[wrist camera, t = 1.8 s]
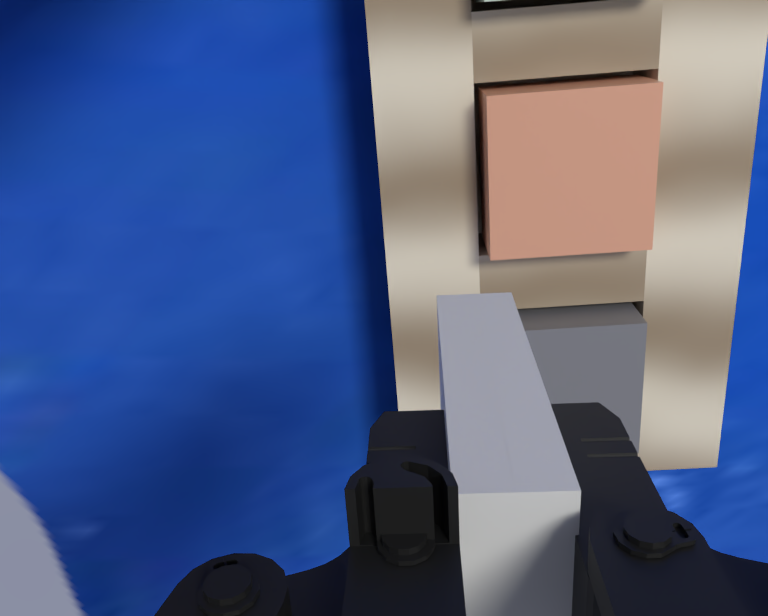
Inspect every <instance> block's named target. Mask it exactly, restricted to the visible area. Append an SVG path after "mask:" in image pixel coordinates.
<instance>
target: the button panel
mask: <svg viewBox="0 0 768 616" xmlns="http://www.w3.org/2000/svg"><path fill="white" fill-rule="evenodd" d="M364 1H365V13H366V25H367V38H368V50H369V62H370V74H371V86H372V98H373V110H374V122H375V134H376V146H377V158H378V170H379V182H380V194H381V207H382V219H383V231H384V243H385V255H386V267H387V279H388V291H389V303H390V315H391V327H392V339H393V351H394V363H395V376H396V388H397V400H398V411H416V410H441V404H440V376H439V348H438V320H437V295H459V294H483V293H506V292H511V293H512V296H513V299H514V301H515V304H516V307H517V309H525V308H541V307H557V306H572V305H588V304H604V303H619V302H632V304H633V305H634V306H635V308H636V309H637V310H638V312H639V313H640V314H641V315H642V317H643V318H644V319H645V321H646V322H647V337H646V352H645V367H644V382H643V397H642V412H641V427H640V442H639V453H638V457H640V458H641V460H642V462H643V464H644V466H645V468H646V470H647V471H649V470H669V469H688V468H707V467H717V462H718V453H719V445H720V436H721V428H722V419H723V411H724V402H725V393H726V385H727V376H728V368H729V359H730V351H731V342H732V334H733V325H734V317H735V308H736V300H737V291H738V282H739V274H740V265H741V257H742V248H743V240H744V231H745V223H746V214H747V206H748V197H749V189H750V180H751V171H752V163H753V154H754V146H755V137H756V129H757V120H758V112H759V103H760V95H761V86H762V78H763V69H764V60H765V52H766V43H767V35H768V0H501V1H490V2H476V0H364ZM635 74H638V75H641V76H644V77H648V78H651V79H655V80H658V81H661V82H663V97H662V112H661V127H660V142H659V157H658V172H657V187H656V202H655V217H654V232H653V247H652V250H641V251H626V252H611V253H596V254H582V255H567V256H552V257H537V258H522V259H507V260H493V261H490V258H489V255H488V252H487V249H486V246H485V243H484V240H483V237H482V206H481V171H480V135H479V100H478V87H485V86H497V85H510V84H522V83H535V82H547V81H560V80H572V79H585V78H597V77H610V76H622V75H635Z"/></svg>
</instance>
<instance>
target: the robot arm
mask: <svg viewBox="0 0 768 616" xmlns="http://www.w3.org/2000/svg"><path fill="white" fill-rule="evenodd" d="M437 320H438V348H439V376H440V404H441V410H416V411H386V412H384V413H383V414H382V415H381V416H380V417H379V419H378V420H377V421H376V422H375V423H374V424H373V426H372V427H371V428H370V435H369V445H368V454H367V465H364V466H363V467H361V468H360V469H359V470H358V471H356V472H355V473H354V474H353V475H352V476H350V478H349V481H348V483H347V485H346V487H345V489H344V490H345V500H346V510H347V521H348V531H349V541H350V547H349V548H348V549H347V550H345V551H344V552H343V553H342V554H341V555H340V556H339V557H337V558H335V559H333V560H332V561H330V562H328V563H326V564H324V565H321V566H318V567H316V568H313V569H310V570H306V571H303V572H299V573H295V574H292V575H288V576H285V573H284V570H283V569H282V568H281V567H280V566H279V565H277V564H276V563H275V562H274V561H273V560H272V559H269V558H266V557H263V556H260V555H257V554H239V553H234V554H230V555H226V556H222V557H218V558H214V559H211V560H209V561H208V562H206V563H204V564H202V565H200V566H198V567H196V568H195V569H193V570H192V571H191V572H190V573H189V574H188V575H187V576H186V577H184V578H183V579H182V580H181V581H180V582H179V583H178V584H177V586H176V587H175V588H174V590H173V591H172V592H171V594H170V595H169V596H168V598H167V599H166V601H165V602H164V603H163V605H162V606H161V607H160V609H159V610H158V611H157V613H156V614H155V615H154V616H768V563H763V562H758V561H753V560H748V559H743V558H738V557H735V556H731V555H727V554H723V553H720V552H718V551H716V550H713V549H711V548H710V547H709V546H708V544H707V542H706V540H705V538H704V537H703V536H702V535H701V533H700V532H699V531H698V530H697V529H696V528H695V527H694V525H693V524H692V523H690V522H688V521H687V520H685V519H684V518H682V517H680V516H679V515H677V514H675V513H673V512H670V511H667V509H666V507H665V505H664V503H663V501H662V499H661V497H660V496H659V494H658V492H657V490H656V488H655V486H654V484H653V482H652V480H651V478H650V476H649V474H648V472H647V470H646V468H645V466H644V464H643V462H642V460H641V458H640V457H638V453H637V451H636V449H635V447H634V445H633V443H632V441H630V437H629V435H628V433H627V431H626V429H625V427H624V425H623V423H622V421H621V419H620V418H619V417H618V416H616V415H615V414H614V413H612V412H611V411H610V410H608V409H607V408H606V407H604V406H603V405H602V404H600V403H599V402H591V403H561V404H550V401H549V398H548V395H547V392H546V389H545V387H544V384H543V381H542V378H541V375H540V372H539V370H538V367H537V364H536V361H535V358H534V355H533V353H532V350H531V347H530V344H529V341H528V338H527V336H526V333H525V330H524V327H523V324H522V321H521V318H520V316H519V313H518V310H517V307H516V304H515V301H514V299H513V296H512V293H511V292H506V293H483V294H459V295H437Z"/></svg>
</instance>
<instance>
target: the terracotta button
mask: <svg viewBox="0 0 768 616" xmlns="http://www.w3.org/2000/svg"><path fill="white" fill-rule="evenodd" d="M662 97H663V82H661V81H658V80H655V79H651V78H648V77H644V76H641V75H638V74H635V75H622V76H610V77H597V78H585V79H572V80H560V81H547V82H535V83H522V84H510V85H497V86H485V87H478V100H479V135H480V171H481V206H482V237H483V240H484V243H485V246H486V249H487V252H488V255H489V258H490V261H493V260H507V259H522V258H537V257H552V256H567V255H582V254H596V253H611V252H626V251H641V250H652V247H653V232H654V217H655V202H656V187H657V172H658V157H659V142H660V127H661V112H662Z"/></svg>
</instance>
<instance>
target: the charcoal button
mask: <svg viewBox="0 0 768 616" xmlns="http://www.w3.org/2000/svg"><path fill="white" fill-rule="evenodd" d="M517 310H518V313H519V316H520V318H521V321H522V324H523V327H524V330H525V333H526V336H527V338H528V341H529V344H530V347H531V350H532V353H533V355H534V358H535V361H536V364H537V367H538V370H539V372H540V375H541V378H542V381H543V384H544V387H545V389H546V392H547V395H548V398H549V401H550V404H561V403H591V402H599V403H600V404H602V405H603V406H604V407H606V408H607V409H608V410H610V411H611V412H612V413H614V414H615V415H616V416H618V417H619V418H620V419H621V421H622V423H623V425H624V427H625V429H626V431H627V433H628V435H629V437H630V441H632V443H633V445H634V447H635V449H636V451H637V453H639V442H640V427H641V412H642V397H643V382H644V367H645V352H646V337H647V322H646V321H645V319H644V318H643V317H642V315H641V314H640V313H639V312H638V310H637V309H636V308H635V306H634V305H633V304H632V302H619V303H604V304H588V305H572V306H557V307H541V308H525V309H517Z"/></svg>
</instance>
